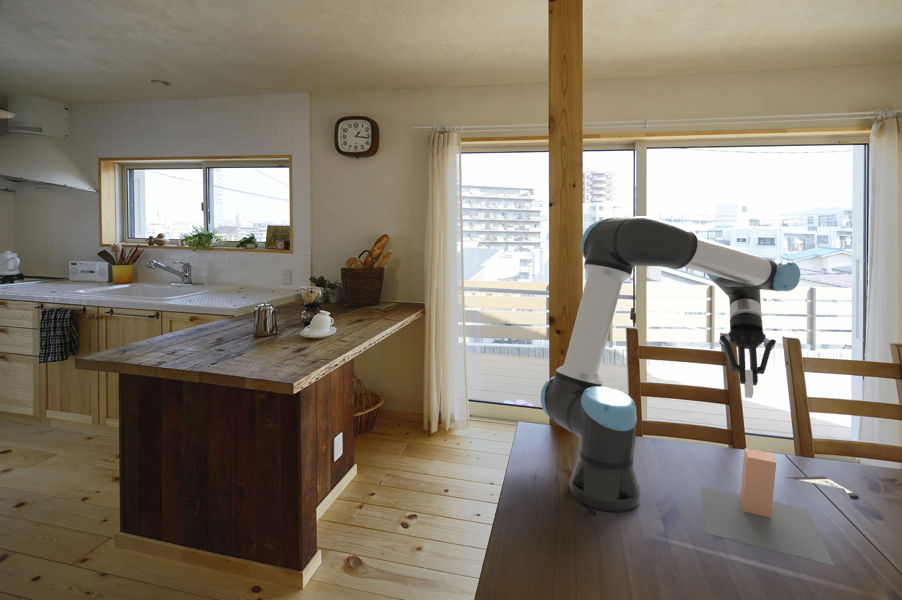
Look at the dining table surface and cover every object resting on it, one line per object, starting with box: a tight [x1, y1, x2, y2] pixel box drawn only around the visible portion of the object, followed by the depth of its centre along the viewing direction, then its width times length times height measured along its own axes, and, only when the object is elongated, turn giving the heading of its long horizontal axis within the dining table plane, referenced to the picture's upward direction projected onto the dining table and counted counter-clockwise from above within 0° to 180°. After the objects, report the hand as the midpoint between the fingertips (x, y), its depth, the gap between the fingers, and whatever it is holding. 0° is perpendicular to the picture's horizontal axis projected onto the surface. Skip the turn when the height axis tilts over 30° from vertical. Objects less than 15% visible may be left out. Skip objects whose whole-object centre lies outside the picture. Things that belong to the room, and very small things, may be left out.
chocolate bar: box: [784, 475, 859, 499], centre depth 108 cm, size 9×1×18 cm
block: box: [739, 447, 777, 517], centre depth 98 cm, size 5×5×12 cm
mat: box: [700, 486, 835, 567], centre depth 94 cm, size 20×20×1 cm
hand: (749, 395), depth 114 cm, fingers closed
